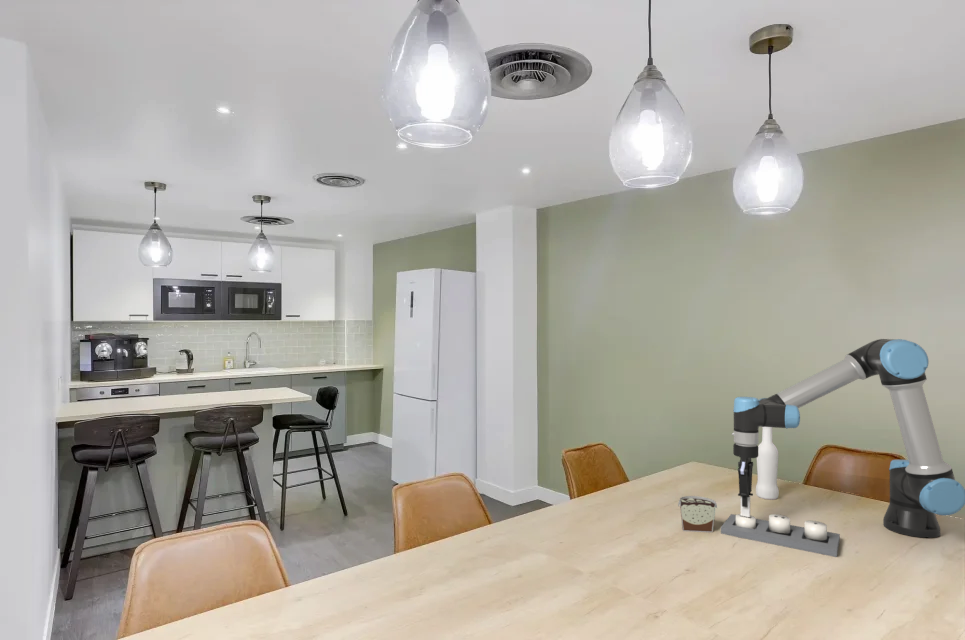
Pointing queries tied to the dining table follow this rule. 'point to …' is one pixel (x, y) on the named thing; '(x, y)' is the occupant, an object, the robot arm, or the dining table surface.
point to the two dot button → (779, 523)
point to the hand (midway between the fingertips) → (745, 515)
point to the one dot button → (815, 530)
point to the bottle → (767, 466)
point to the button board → (782, 537)
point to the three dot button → (746, 521)
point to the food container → (697, 513)
